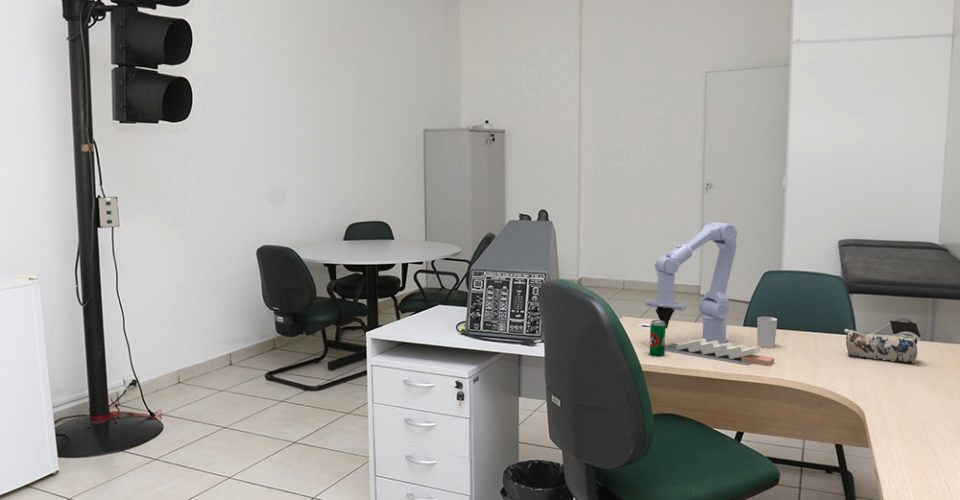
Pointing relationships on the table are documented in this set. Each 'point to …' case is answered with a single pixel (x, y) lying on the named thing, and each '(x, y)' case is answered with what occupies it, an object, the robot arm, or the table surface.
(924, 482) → the table surface
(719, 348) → the domino
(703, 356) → the felt mat
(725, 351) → the domino
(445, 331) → the table surface
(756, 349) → the domino
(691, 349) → the domino
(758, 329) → the drinking glass
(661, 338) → the soda can
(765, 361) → the domino
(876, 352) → the pencil case
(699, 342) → the domino
